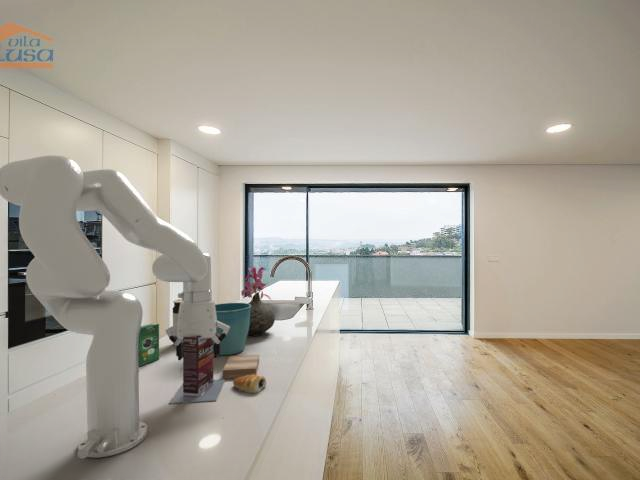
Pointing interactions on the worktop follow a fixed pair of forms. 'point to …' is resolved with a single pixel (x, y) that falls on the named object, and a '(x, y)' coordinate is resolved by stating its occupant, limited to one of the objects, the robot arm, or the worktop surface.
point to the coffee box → (148, 344)
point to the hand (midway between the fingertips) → (198, 357)
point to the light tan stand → (241, 366)
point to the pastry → (250, 383)
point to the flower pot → (233, 326)
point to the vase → (258, 305)
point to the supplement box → (197, 365)
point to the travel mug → (176, 313)
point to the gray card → (206, 396)
